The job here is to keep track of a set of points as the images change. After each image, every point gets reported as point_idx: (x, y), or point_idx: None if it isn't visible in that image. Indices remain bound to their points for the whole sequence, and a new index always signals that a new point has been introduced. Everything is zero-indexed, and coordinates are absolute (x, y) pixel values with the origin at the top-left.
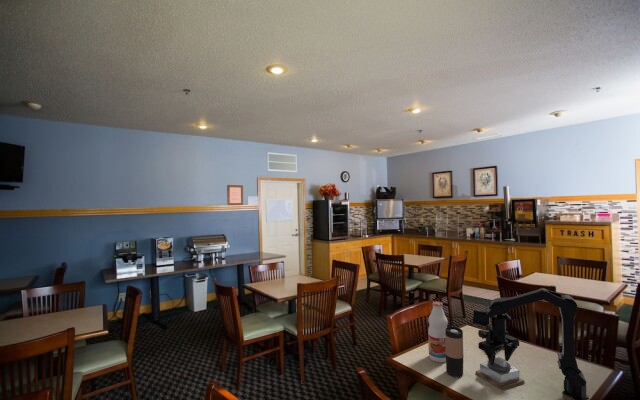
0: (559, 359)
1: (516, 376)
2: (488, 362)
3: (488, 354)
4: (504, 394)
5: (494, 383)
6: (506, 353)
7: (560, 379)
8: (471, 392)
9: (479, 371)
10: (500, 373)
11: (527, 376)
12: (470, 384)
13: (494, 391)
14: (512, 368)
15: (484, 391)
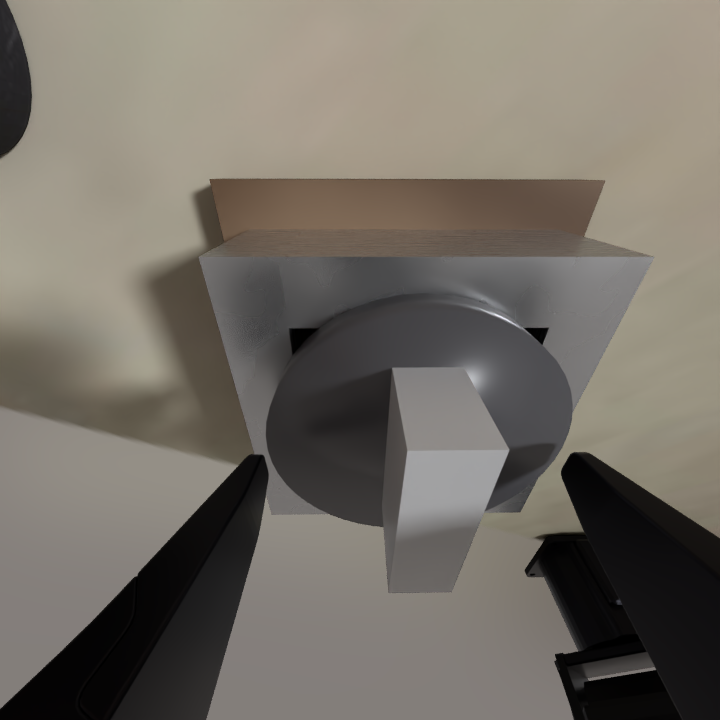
0: None
1: None
2: (295, 379)
3: (85, 708)
4: None
5: None
6: (678, 595)
7: (714, 482)
8: (26, 397)
9: (253, 213)
10: (292, 498)
11: (610, 404)
12: (58, 320)
13: (213, 437)
14: None
15: (139, 418)
